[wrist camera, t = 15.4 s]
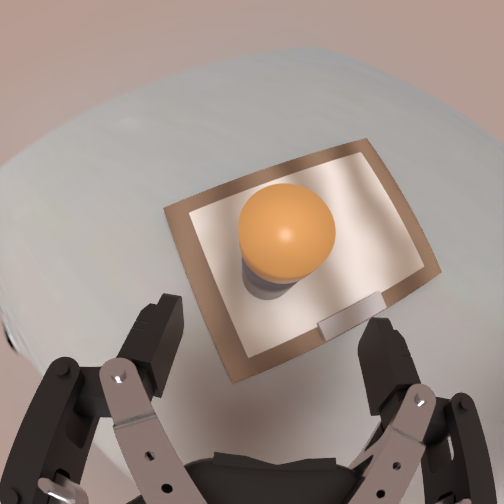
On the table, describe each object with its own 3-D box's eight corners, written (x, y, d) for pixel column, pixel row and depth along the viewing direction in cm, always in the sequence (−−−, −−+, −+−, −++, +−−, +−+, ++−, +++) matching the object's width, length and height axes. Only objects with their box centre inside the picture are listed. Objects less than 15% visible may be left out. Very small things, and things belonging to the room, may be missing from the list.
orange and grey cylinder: (280, 242, 23) (309, 172, 13) (301, 288, 22) (351, 253, 12) (233, 261, 23) (223, 201, 12) (253, 309, 22) (262, 292, 11)
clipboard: (363, 143, 28) (369, 133, 26) (436, 274, 24) (446, 270, 22) (166, 212, 25) (161, 204, 23) (233, 381, 21) (232, 385, 20)
